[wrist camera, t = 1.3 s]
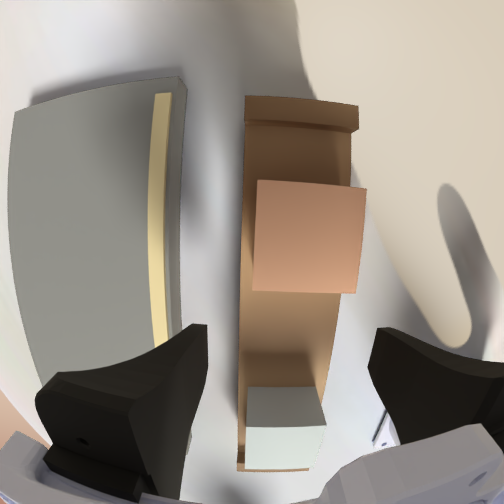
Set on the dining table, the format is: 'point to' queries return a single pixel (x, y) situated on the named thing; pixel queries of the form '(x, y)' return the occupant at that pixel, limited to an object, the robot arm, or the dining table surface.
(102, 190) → the plate
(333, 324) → the brown block carrier
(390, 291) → the dining table surface
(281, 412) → the block
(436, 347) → the robot arm
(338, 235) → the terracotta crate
